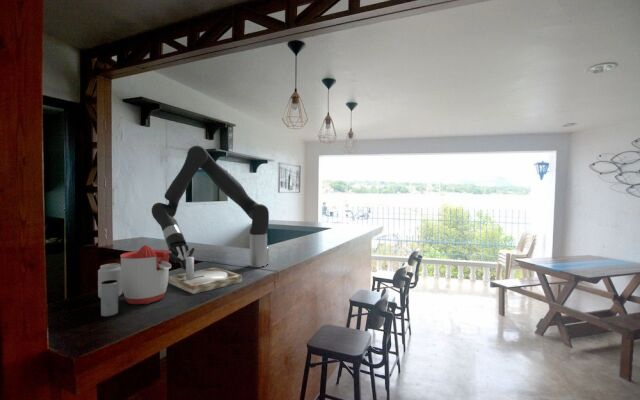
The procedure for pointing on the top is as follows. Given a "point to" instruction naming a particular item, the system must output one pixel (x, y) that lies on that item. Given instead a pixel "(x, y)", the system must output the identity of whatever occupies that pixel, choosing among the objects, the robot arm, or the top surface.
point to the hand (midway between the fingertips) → (186, 268)
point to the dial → (201, 273)
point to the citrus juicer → (144, 275)
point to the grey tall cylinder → (109, 297)
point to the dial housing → (197, 288)
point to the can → (109, 276)
